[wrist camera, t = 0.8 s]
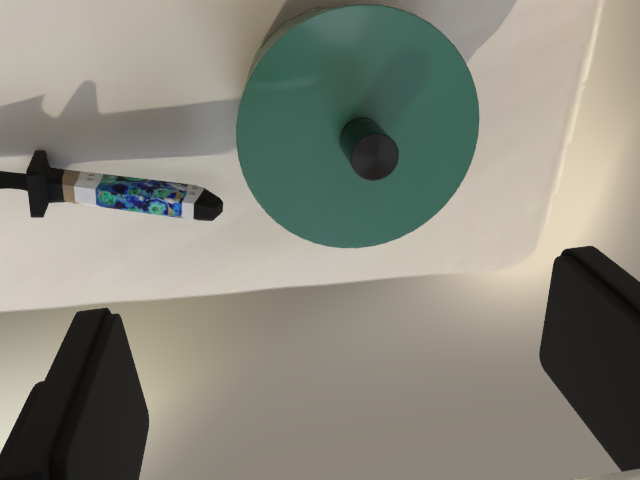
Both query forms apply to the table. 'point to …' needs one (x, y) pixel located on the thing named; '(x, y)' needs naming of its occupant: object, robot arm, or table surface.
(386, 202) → the pot lid
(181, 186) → the knife
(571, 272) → the robot arm
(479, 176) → the table surface
